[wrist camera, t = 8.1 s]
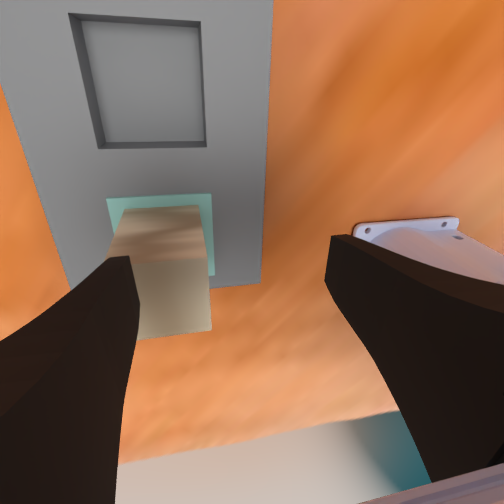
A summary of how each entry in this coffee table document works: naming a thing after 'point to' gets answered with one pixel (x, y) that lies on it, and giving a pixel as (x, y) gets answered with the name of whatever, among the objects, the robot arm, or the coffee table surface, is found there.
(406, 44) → the coffee table surface
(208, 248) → the pocket board
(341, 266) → the robot arm
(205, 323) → the birch block
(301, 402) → the coffee table surface
